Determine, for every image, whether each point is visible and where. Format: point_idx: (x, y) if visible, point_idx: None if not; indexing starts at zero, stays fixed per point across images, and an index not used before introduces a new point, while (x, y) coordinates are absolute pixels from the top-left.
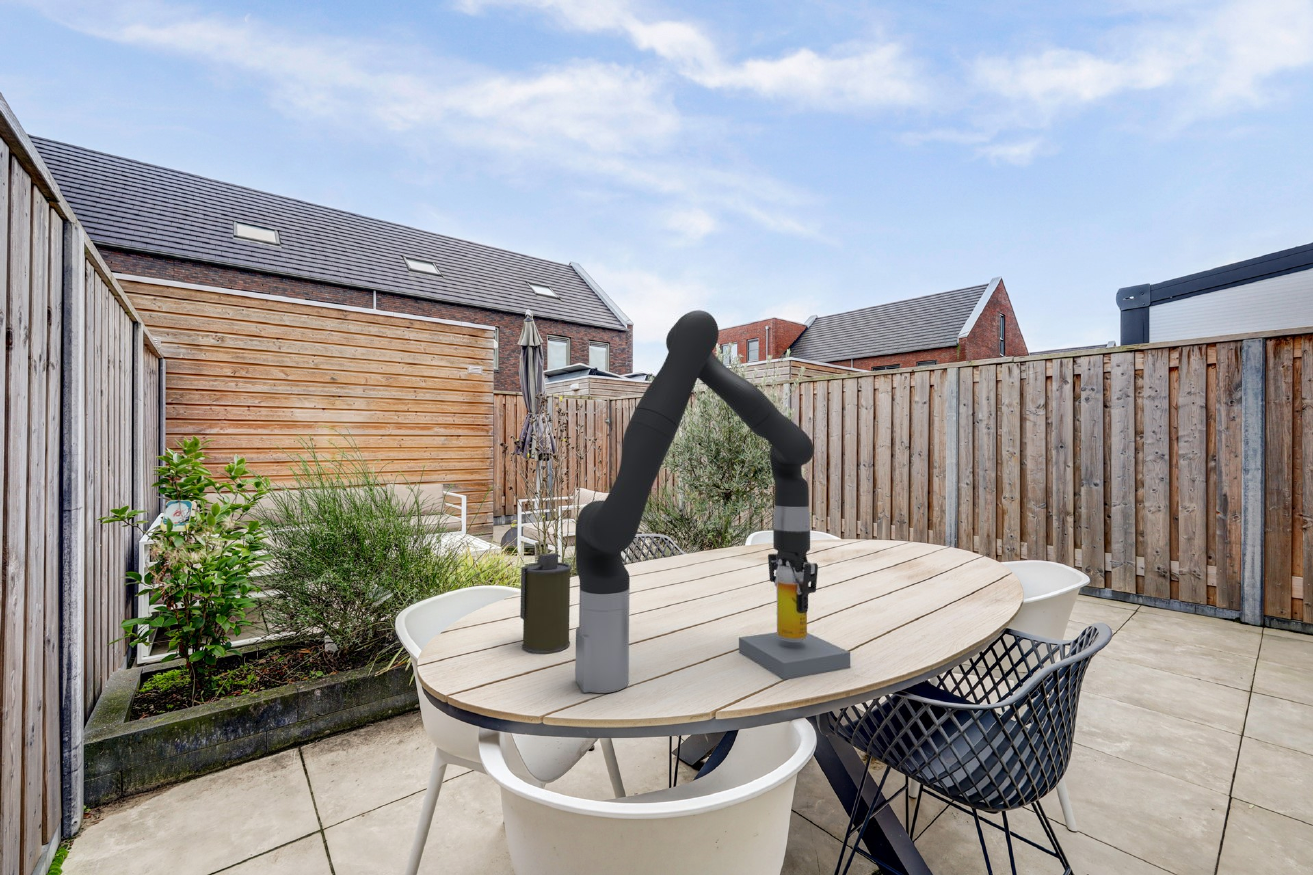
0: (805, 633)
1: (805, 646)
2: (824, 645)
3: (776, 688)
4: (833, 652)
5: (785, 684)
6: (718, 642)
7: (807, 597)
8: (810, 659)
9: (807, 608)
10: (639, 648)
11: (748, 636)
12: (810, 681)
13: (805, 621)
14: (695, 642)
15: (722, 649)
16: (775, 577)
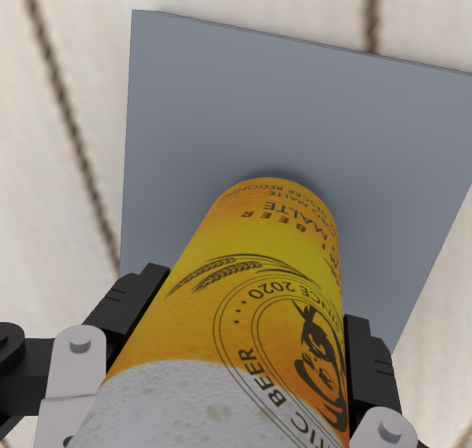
0: (337, 237)
1: (322, 193)
2: (369, 111)
3: (399, 389)
4: (453, 157)
5: (400, 358)
6: (44, 264)
7: (399, 413)
8: (422, 285)
9: (385, 351)
10: (23, 422)
11: (123, 272)
12: (442, 296)
13: (338, 265)
14: (23, 311)
15: (101, 296)
16: (14, 411)
